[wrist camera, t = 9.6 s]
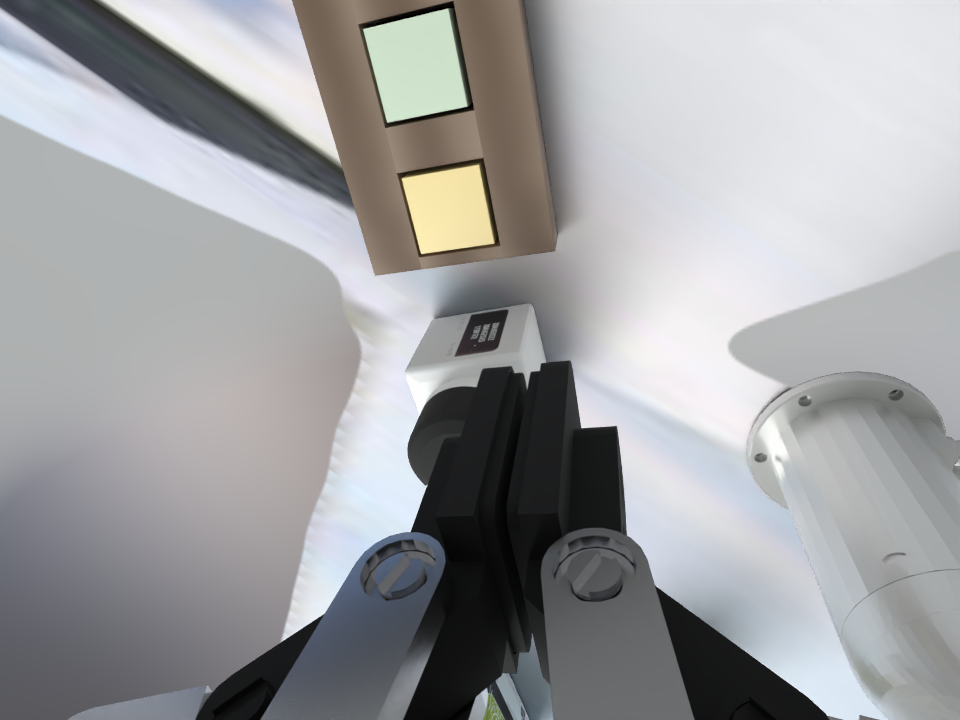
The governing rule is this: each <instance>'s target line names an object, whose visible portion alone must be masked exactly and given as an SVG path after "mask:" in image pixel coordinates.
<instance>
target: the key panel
mask: <svg viewBox="0 0 960 720" xmlns="http://www.w3.org/2000/svg"><path fill="white" fill-rule="evenodd" d="M292 2H293V5H294V8H295V12H296V15H297V18H298V22H299V25H300V28H301V31H302V35H303V38H304V41H305V45H306V48H307V51H308V55H309V58H310V61H311V65H312V68H313V71H314V75H315V78H316V81H317V85H318V88H319V91H320V94H321V98H322V101H323V104H324V108H325V111H326V114H327V118H328V121H329V124H330V128H331V131H332V134H333V138H334V141H335V144H336V148H337V151H338V154H339V158H340V161H341V164H342V167H343V171H344V174H345V177H346V181H347V184H348V187H349V191H350V194H351V197H352V201H353V204H354V207H355V211H356V214H357V217H358V221H359V224H360V227H361V230H362V234H363V237H364V240H365V244H366V247H367V250H368V254H369V257H370V260H371V264H372V267H373V270H374V274H375V276H376V275H384V274H391V273H398V272H406V271H413V270H420V269H428V268H435V267H442V266H450V265H457V264H464V263H472V262H479V261H486V260H494V259H501V258H508V257H516V256H523V255H530V254H538V253H545V252H552V251H555V248H556V242H557V236H558V235H557V228H556V221H555V214H554V207H553V200H552V193H551V186H550V179H549V172H548V165H547V158H546V151H545V144H544V137H543V130H542V123H541V116H540V109H539V102H538V95H537V88H536V81H535V74H534V67H533V60H532V54H531V47H530V40H529V33H528V26H527V19H526V12H525V5H524V0H292ZM451 4H454V6H455V11H456V17H457V22H458V27H459V32H460V38H461V43H462V48H463V53H464V58H465V64H466V69H467V74H468V79H469V85H470V90H471V95H472V100H473V106H468V107H463V108H458V109H453V110H448V111H443V112H438V113H434V114H429V115H424V116H419V117H414V118H409V119H404V120H398V121H393V122H388V123H387V120H386V116H385V112H384V108H383V104H382V101H381V97H380V93H379V89H378V85H377V81H376V77H375V73H374V70H373V66H372V62H371V58H370V54H369V50H368V46H367V42H366V39H365V35H364V31H363V29H366V28H370V27H374V26H376V24H375V23H378V22H383V21H387V20H391V19H395V18H399V17H403V16H407V15H411V14H415V13H419V12H423V11H427V10H431V9H435V8H439V7H443V6H447V5H451ZM480 158H484V163H485V168H486V173H487V179H488V184H489V189H490V194H491V200H492V205H493V210H494V215H495V220H496V226H497V231H498V236H497V238H496V241H495V243H494V244H488V245H481V246H474V247H467V248H460V249H453V250H446V251H439V252H432V253H425V254H421V251H420V248H419V244H418V240H417V236H416V232H415V228H414V224H413V221H412V217H411V213H410V209H409V205H408V201H407V197H406V193H405V190H404V186H403V182H402V178H403V177H404V176H405V175H406V174H407V173H409V172H410V171H413V170H418V169H424V168H429V167H435V166H441V165H446V164H452V163H457V162H463V161H468V160H474V159H480Z"/></svg>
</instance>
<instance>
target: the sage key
mask: <svg viewBox="0 0 960 720" xmlns="http://www.w3.org/2000/svg"><path fill="white" fill-rule="evenodd" d="M363 31H364V35H365V39H366V42H367V46H368V50H369V54H370V58H371V62H372V66H373V70H374V73H375V77H376V81H377V85H378V89H379V93H380V97H381V101H382V104H383V108H384V112H385V116H386V120H387V123H388V122H393V121H398V120H403V119H408V118H413V117H418V116H423V115H428V114H433V113H438V112H443V111H448V110H453V109H457V108H462V107H467V106H469V105H470V104H471V103H473V100H472V95H471V90H470V85H469V79H468V74H467V69H466V64H465V58H464V53H463V48H462V43H461V38H460V32H459V27H458V22H457V17H456V11H455V9H453V8H448V9H444V10H440V11H435V12H431V13H427V14H423V15H419V16H415V17H411V18H407V19H403V20H399V21H395V22H391V23H387V24H382V25H378V26H374V27H370V28H366V29H363Z"/></svg>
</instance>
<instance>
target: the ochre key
mask: <svg viewBox="0 0 960 720" xmlns="http://www.w3.org/2000/svg"><path fill="white" fill-rule="evenodd" d="M402 182H403V186H404V190H405V193H406V197H407V201H408V205H409V209H410V213H411V217H412V221H413V224H414V228H415V232H416V236H417V240H418V244H419V248H420V251H421V254H425V253H432V252H439V251H446V250H453V249H460V248H467V247H474V246H481V245H488V244H494V243H495V241H496V238H497V236H498V231H497V226H496V220H495V215H494V210H493V205H492V200H491V194H490V189H489V184H488V179H487V173H486V168H485V163H484V158H480V159H474V160H468V161H463V162H457V163H452V164H446V165H441V166H435V167H429V168H424V169H418V170H413V171H410V172H409V173H407V174H406V175H405V176H404V177H403V178H402Z"/></svg>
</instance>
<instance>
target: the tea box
mask: <svg viewBox="0 0 960 720" xmlns="http://www.w3.org/2000/svg"><path fill="white" fill-rule="evenodd" d="M487 691H488V701H487V707H486V711H485V715H484V718H483V720H530V719H529V717H528V715H527V713H526V711H525V708H524V706H523V703H522V701H521V699H520V697H519V695H518V693H517V690H516V688H515V685H514V683H513V681H512V679H511V677H510V675H509V673H502V676H501V677H500V678H498V679H497V680H496V681H495V682H493V683H492V684H491V685H490V686H489V687H487Z"/></svg>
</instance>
